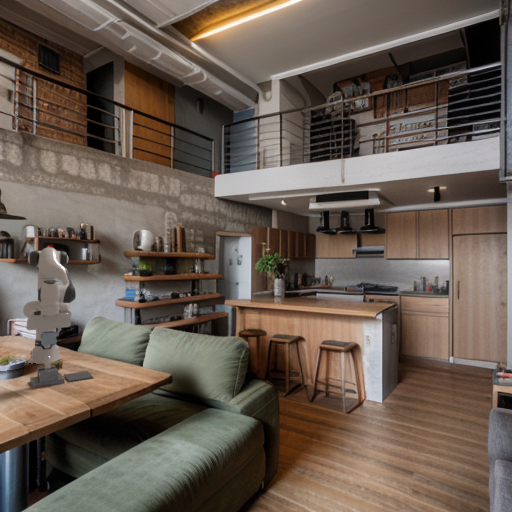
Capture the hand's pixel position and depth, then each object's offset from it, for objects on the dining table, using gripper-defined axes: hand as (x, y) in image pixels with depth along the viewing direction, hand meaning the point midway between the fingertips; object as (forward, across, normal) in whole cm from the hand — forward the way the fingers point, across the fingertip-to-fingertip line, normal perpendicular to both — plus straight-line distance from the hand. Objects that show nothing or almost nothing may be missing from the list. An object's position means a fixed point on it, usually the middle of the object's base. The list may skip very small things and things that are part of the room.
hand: (48, 337), depth 186 cm
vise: (+24, 0, 0) cm, 24 cm away
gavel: (+24, -5, -18) cm, 31 cm away
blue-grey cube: (+4, 0, 0) cm, 4 cm away
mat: (+24, -15, 0) cm, 28 cm away
